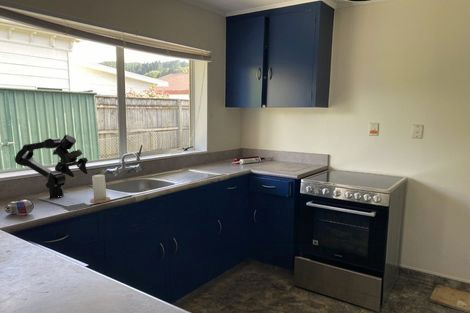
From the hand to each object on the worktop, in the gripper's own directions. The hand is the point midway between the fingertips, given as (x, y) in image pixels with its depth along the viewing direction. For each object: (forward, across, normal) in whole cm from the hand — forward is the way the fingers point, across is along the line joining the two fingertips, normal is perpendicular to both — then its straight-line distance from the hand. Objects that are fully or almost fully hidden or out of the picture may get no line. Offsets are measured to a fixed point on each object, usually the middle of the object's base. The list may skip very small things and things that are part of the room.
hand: (80, 175), depth 190 cm
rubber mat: (+18, -15, +1) cm, 23 cm away
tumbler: (+19, -1, -1) cm, 19 cm away
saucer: (+20, -1, 0) cm, 20 cm away
